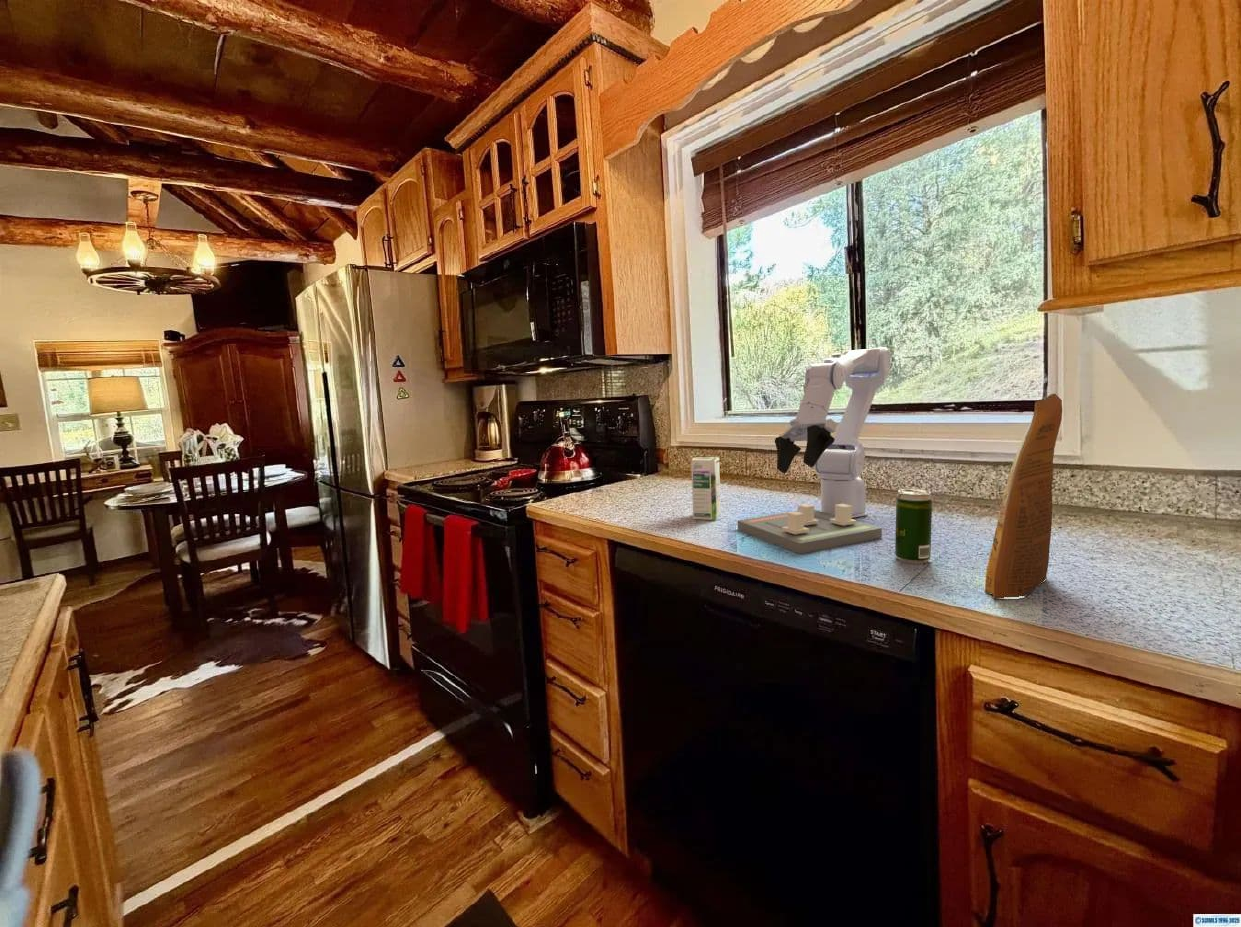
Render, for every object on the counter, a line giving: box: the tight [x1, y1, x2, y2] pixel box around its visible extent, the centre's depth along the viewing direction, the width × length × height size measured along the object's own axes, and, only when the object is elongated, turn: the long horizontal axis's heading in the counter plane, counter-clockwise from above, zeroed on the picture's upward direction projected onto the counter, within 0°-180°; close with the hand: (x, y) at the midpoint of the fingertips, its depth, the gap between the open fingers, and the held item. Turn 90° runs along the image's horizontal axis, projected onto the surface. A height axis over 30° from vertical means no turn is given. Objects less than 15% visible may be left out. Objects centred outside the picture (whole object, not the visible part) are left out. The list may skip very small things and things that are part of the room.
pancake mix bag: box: [984, 393, 1063, 599], centre depth 77 cm, size 7×19×28 cm, turn 128°
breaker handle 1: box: [782, 510, 809, 534], centre depth 105 cm, size 4×4×4 cm
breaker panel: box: [737, 509, 883, 555], centre depth 112 cm, size 20×20×2 cm
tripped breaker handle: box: [797, 503, 819, 525], centre depth 111 cm, size 4×4×4 cm
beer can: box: [894, 488, 933, 565], centre depth 92 cm, size 5×5×12 cm
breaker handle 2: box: [830, 504, 858, 526], centre depth 110 cm, size 4×4×4 cm
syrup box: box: [690, 456, 721, 521], centre depth 128 cm, size 6×6×14 cm
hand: (794, 467), depth 107 cm, fingers open, 7 cm apart
